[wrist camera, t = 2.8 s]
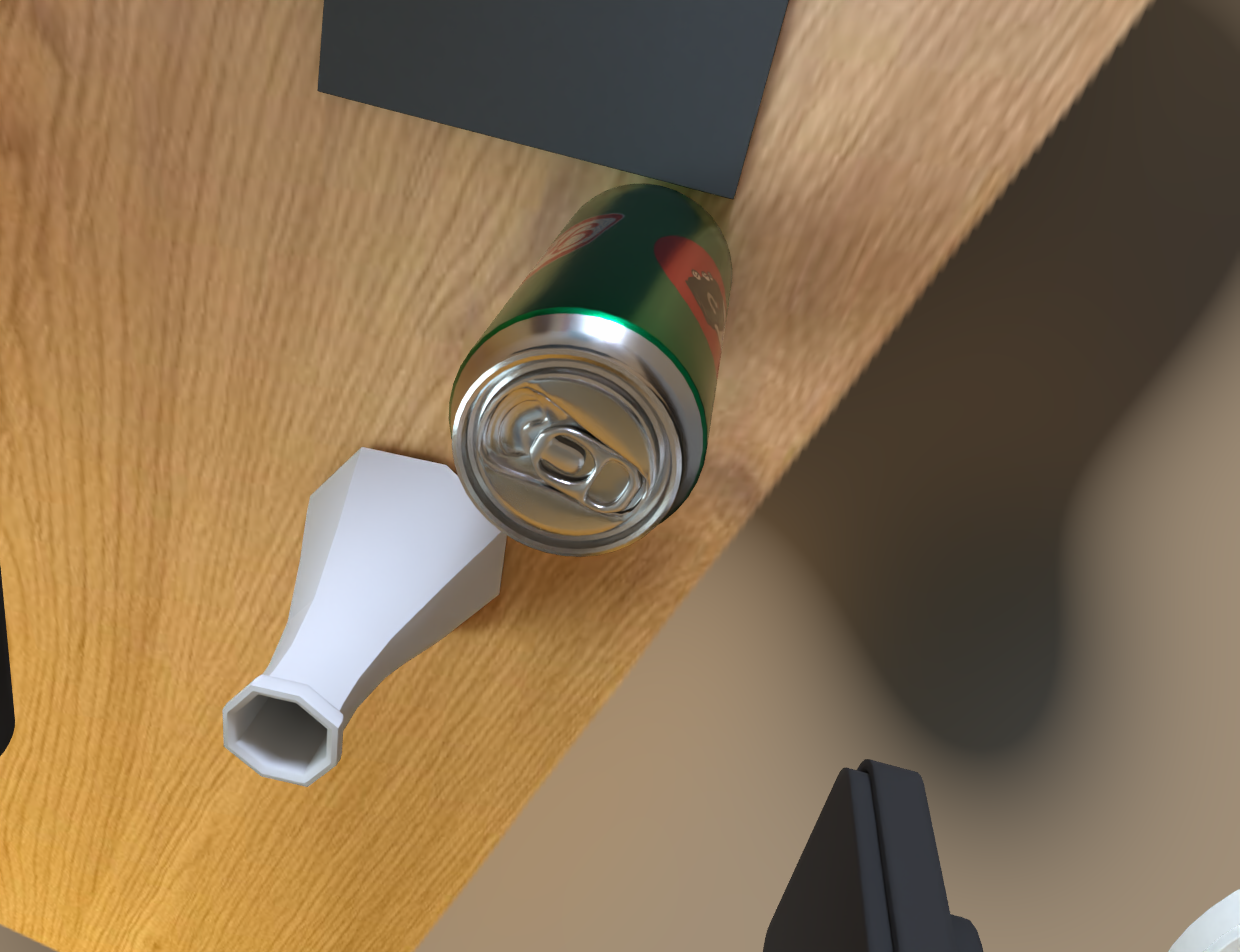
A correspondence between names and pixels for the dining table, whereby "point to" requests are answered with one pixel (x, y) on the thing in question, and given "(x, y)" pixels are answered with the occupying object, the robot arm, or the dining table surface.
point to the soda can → (598, 377)
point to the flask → (363, 606)
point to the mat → (569, 75)
